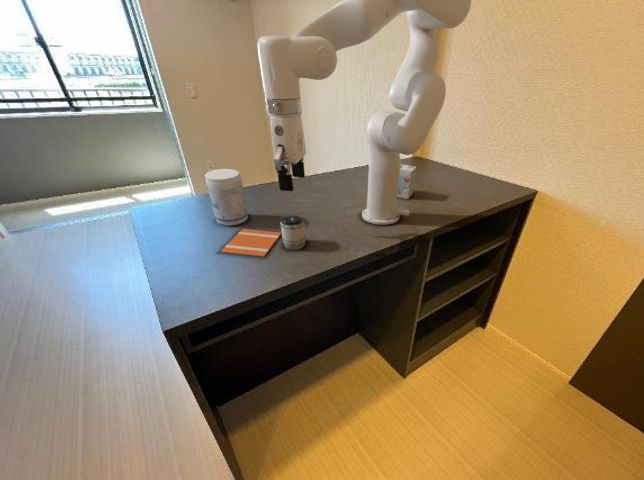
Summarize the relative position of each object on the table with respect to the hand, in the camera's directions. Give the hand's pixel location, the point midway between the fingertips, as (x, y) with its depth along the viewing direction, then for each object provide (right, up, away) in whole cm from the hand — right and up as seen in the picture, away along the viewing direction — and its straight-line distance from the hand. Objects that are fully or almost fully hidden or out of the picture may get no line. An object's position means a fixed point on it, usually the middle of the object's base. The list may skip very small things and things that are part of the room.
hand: (293, 183), depth 76 cm
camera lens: (-1, -15, +8) cm, 17 cm away
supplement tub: (-23, -6, +19) cm, 31 cm away
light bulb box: (+32, +8, +42) cm, 53 cm away
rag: (-13, -14, +8) cm, 21 cm away
